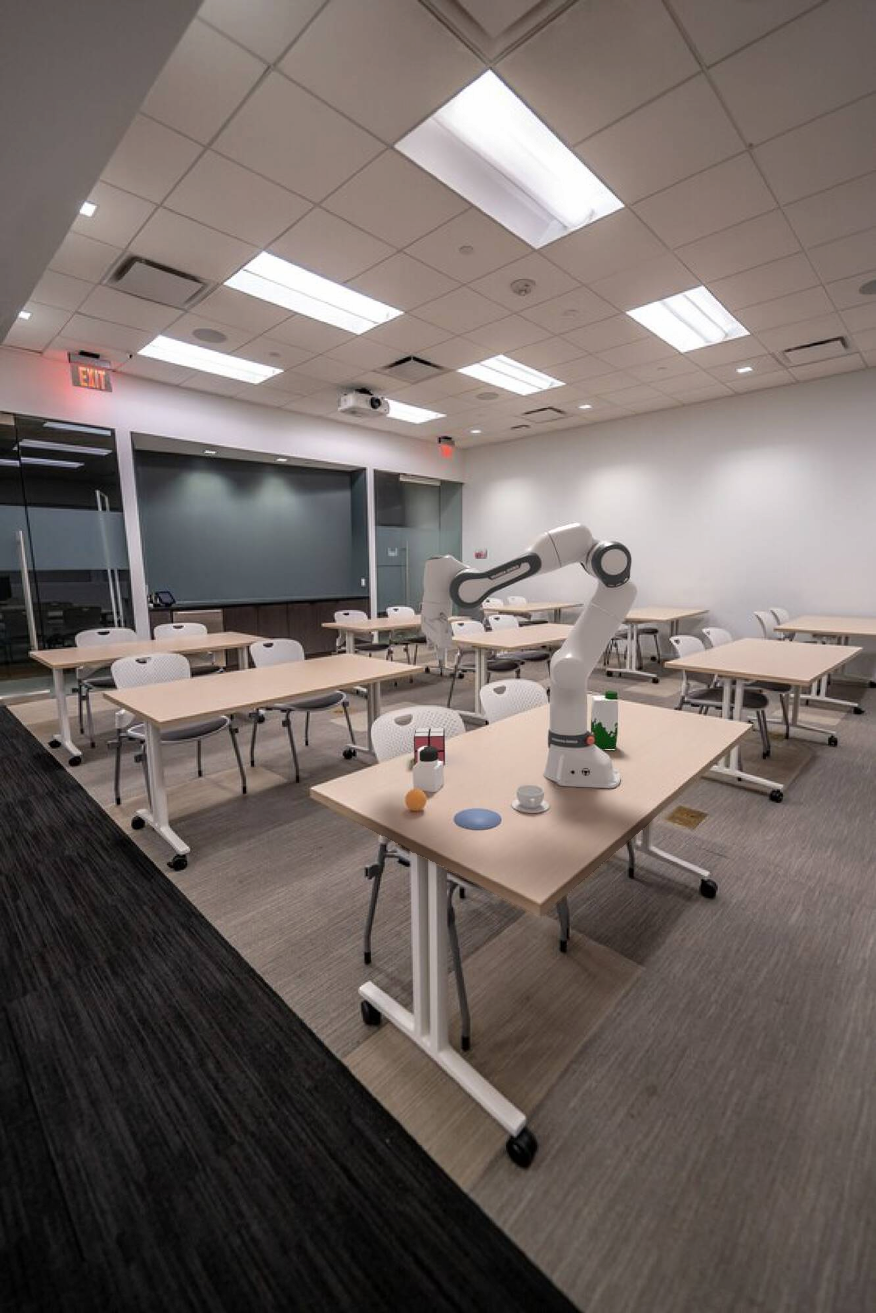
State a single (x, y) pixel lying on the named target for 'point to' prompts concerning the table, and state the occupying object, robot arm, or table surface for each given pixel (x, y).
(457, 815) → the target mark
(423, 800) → the ball
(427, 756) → the medicine bottle
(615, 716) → the milk carton
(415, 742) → the puzzle cube
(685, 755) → the table surface
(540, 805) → the teacup
